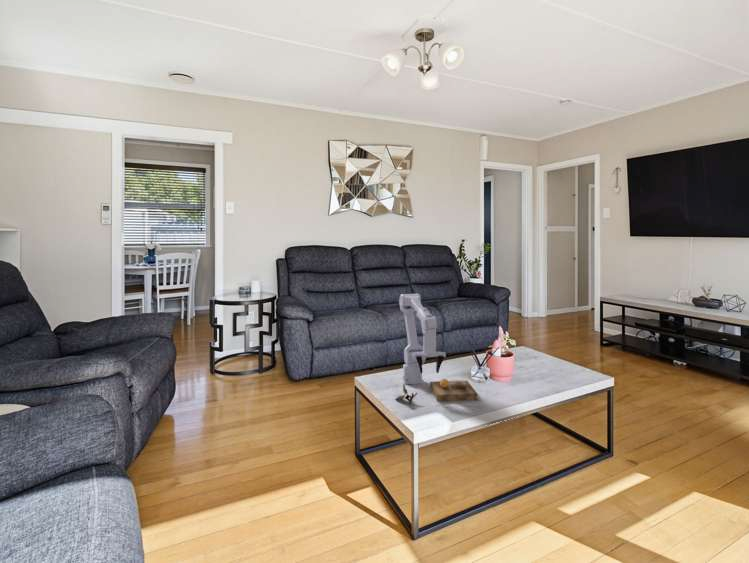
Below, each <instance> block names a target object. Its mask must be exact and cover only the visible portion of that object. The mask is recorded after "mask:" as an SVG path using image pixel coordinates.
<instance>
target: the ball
mask: <svg viewBox="0 0 749 563" xmlns="http://www.w3.org/2000/svg"><path fill="white" fill-rule="evenodd" d="M439 381H440V386H441V387H442V388H446V387H448V385H449V382H448V381H449V380H448V379H447V378H442V379H441V380H439Z"/></svg>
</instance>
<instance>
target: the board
mask: <svg viewBox="0 0 749 563" xmlns="http://www.w3.org/2000/svg"><path fill="white" fill-rule="evenodd" d="M440 381H441V380H439V381H430V382H429V389H430V390H432V391H431V393H432V392H433V393H432V395H433V394H434V395H433V396H434V398H435V400H436V402H455V401H456V402H460V401H461V402H462V401H478V393H477V391H476V390H475V389H474V387H473V386H472V384H470V382H469V381H468V380H447V381H448V382H449V385H448V387H446V388H442V387H441V386H440Z"/></svg>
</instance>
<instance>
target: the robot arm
mask: <svg viewBox="0 0 749 563" xmlns="http://www.w3.org/2000/svg"><path fill="white" fill-rule="evenodd" d="M398 304H399V309H400V312H402V313H403V317H404V322H405V324H404V325H405V329H406V330H405V331H406V337H407V343H408V344H407V345H406V347H405V348H404V350H403V361H404V364H403V365H402V372H403V373H402V380H403V384H404V385H417V384H418V385H420V384H421V385H423V384H425V382H424V380H423V365H424V363H425V362H426V359H427V358H435V360H436V361H435V363H436V366H435V372H436V374H438V373H440V368H441V365H442V363H443V362H444V358H446V355H447V353H446V352H445V351H438V350H437V330H438V329H439V324H440V323H439V319H438V317H437V316H434V315H432V314H431V313H430V311H429V309H428V308H426V307H424V306H423V304H422V298H421V295H420V294H419V293H405V294H403V293H401V294H400V295H399V300H398ZM414 312H416V317H417V318H418V320H420V325H421V332H422V336H423V338H422V345H421V344H420V343H419V340H418V339H419V338H418V333H417V329H416V320H415V315H414V314H415V313H414Z"/></svg>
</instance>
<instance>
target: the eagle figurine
mask: <svg viewBox="0 0 749 563" xmlns="http://www.w3.org/2000/svg"><path fill="white" fill-rule="evenodd" d="M402 392H403V393H404V394H402V395H398V396H397V397H396V398H395V400H400V401H401V400H405V399H406V400H407V401H408V402H409V404H410V405H411V404H412V401H413V400H414V398H415V397H416V396H417V394H418V392H416V393H415V394H414V392H412V393H411V395H409V394H408V391H407V389H406V384H405V383H403V385H402Z"/></svg>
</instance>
